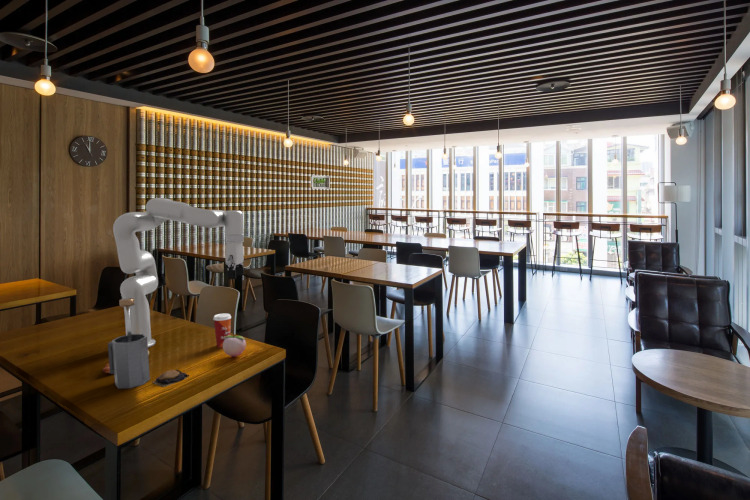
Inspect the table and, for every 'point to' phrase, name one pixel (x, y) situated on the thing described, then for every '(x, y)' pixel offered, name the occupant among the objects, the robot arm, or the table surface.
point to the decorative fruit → (234, 345)
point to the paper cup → (222, 327)
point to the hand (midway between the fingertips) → (236, 277)
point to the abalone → (170, 378)
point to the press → (129, 360)
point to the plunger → (128, 314)
